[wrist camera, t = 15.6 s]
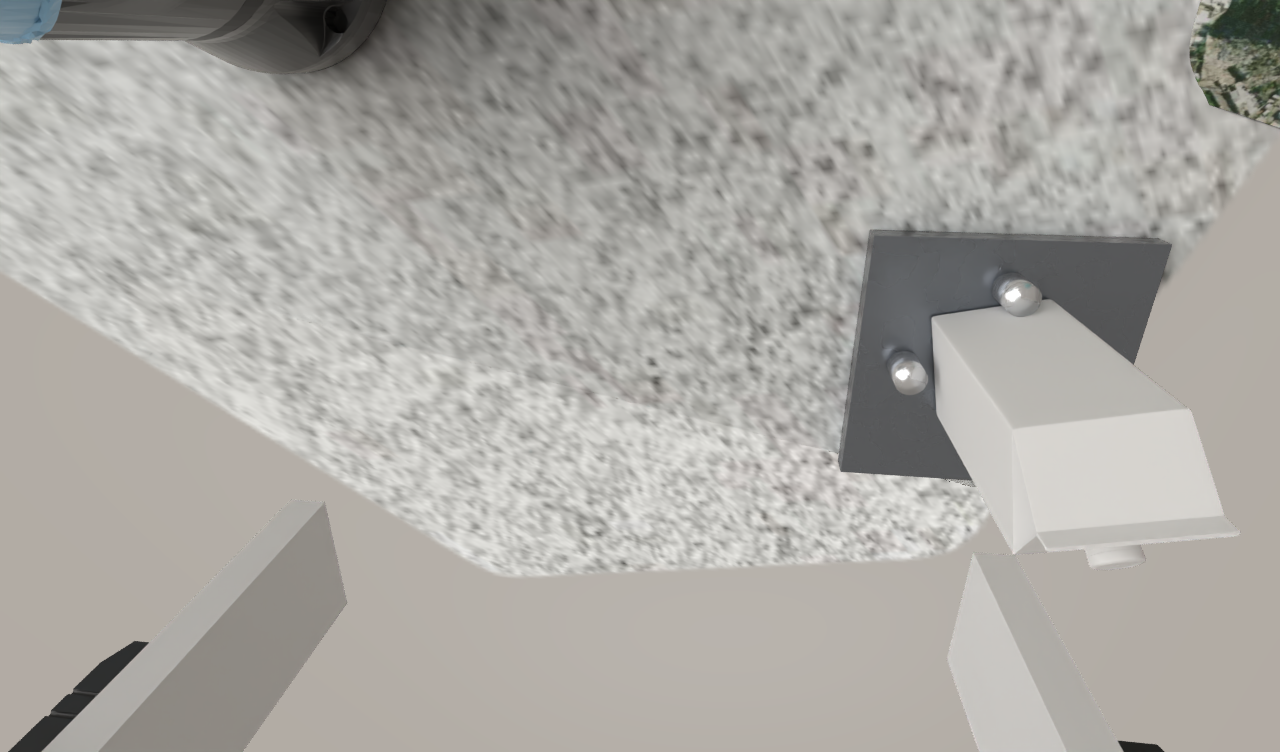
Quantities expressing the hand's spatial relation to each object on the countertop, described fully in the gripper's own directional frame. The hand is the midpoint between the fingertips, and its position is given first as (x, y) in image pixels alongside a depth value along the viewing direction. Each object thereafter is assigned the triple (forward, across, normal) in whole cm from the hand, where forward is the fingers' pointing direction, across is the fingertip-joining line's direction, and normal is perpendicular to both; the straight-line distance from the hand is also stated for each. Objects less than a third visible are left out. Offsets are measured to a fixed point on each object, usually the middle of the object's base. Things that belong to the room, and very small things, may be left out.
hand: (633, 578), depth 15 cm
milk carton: (+33, +19, -8) cm, 39 cm away
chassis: (+35, +19, -9) cm, 41 cm away
